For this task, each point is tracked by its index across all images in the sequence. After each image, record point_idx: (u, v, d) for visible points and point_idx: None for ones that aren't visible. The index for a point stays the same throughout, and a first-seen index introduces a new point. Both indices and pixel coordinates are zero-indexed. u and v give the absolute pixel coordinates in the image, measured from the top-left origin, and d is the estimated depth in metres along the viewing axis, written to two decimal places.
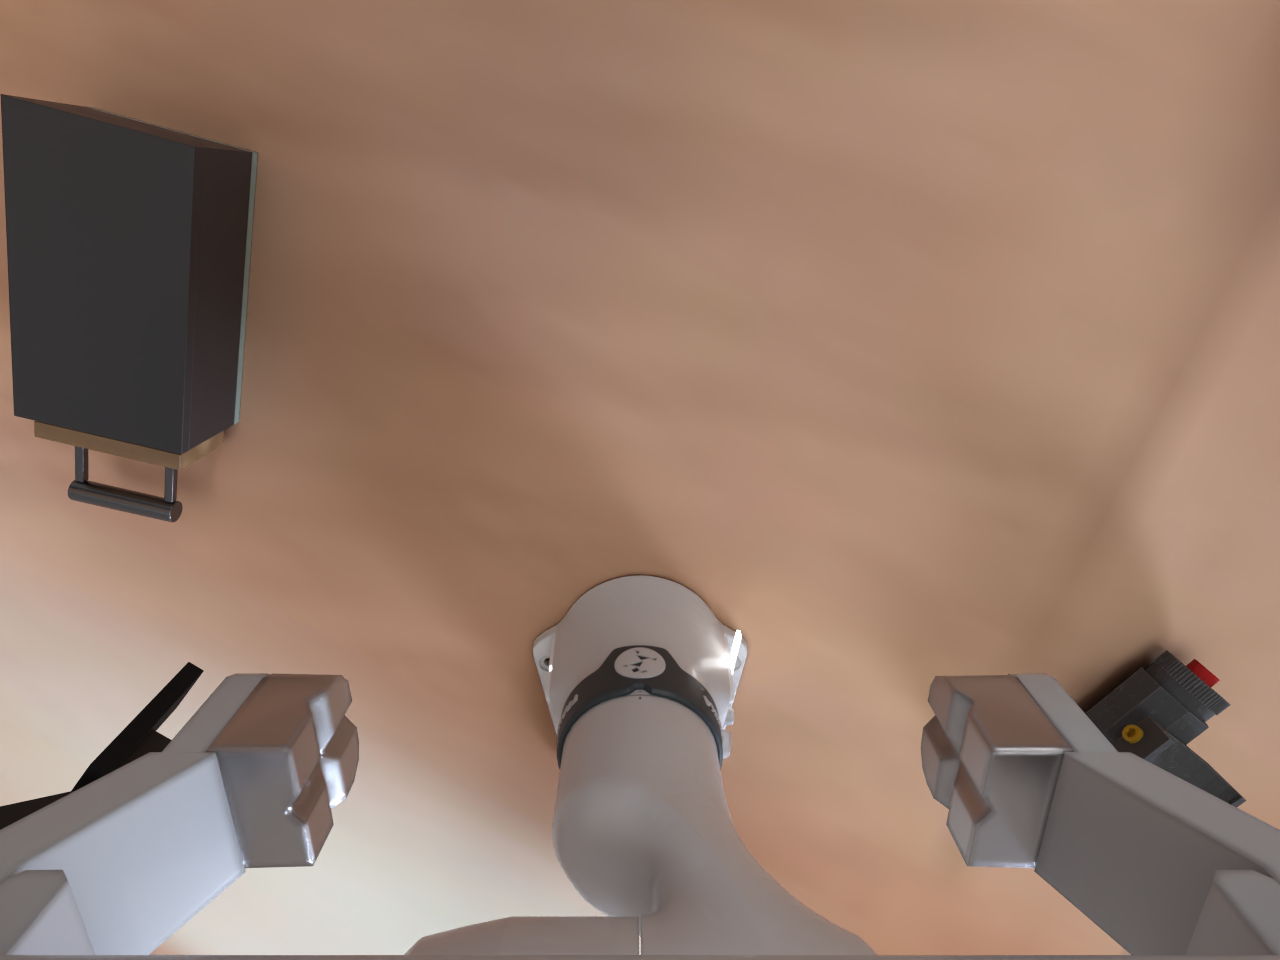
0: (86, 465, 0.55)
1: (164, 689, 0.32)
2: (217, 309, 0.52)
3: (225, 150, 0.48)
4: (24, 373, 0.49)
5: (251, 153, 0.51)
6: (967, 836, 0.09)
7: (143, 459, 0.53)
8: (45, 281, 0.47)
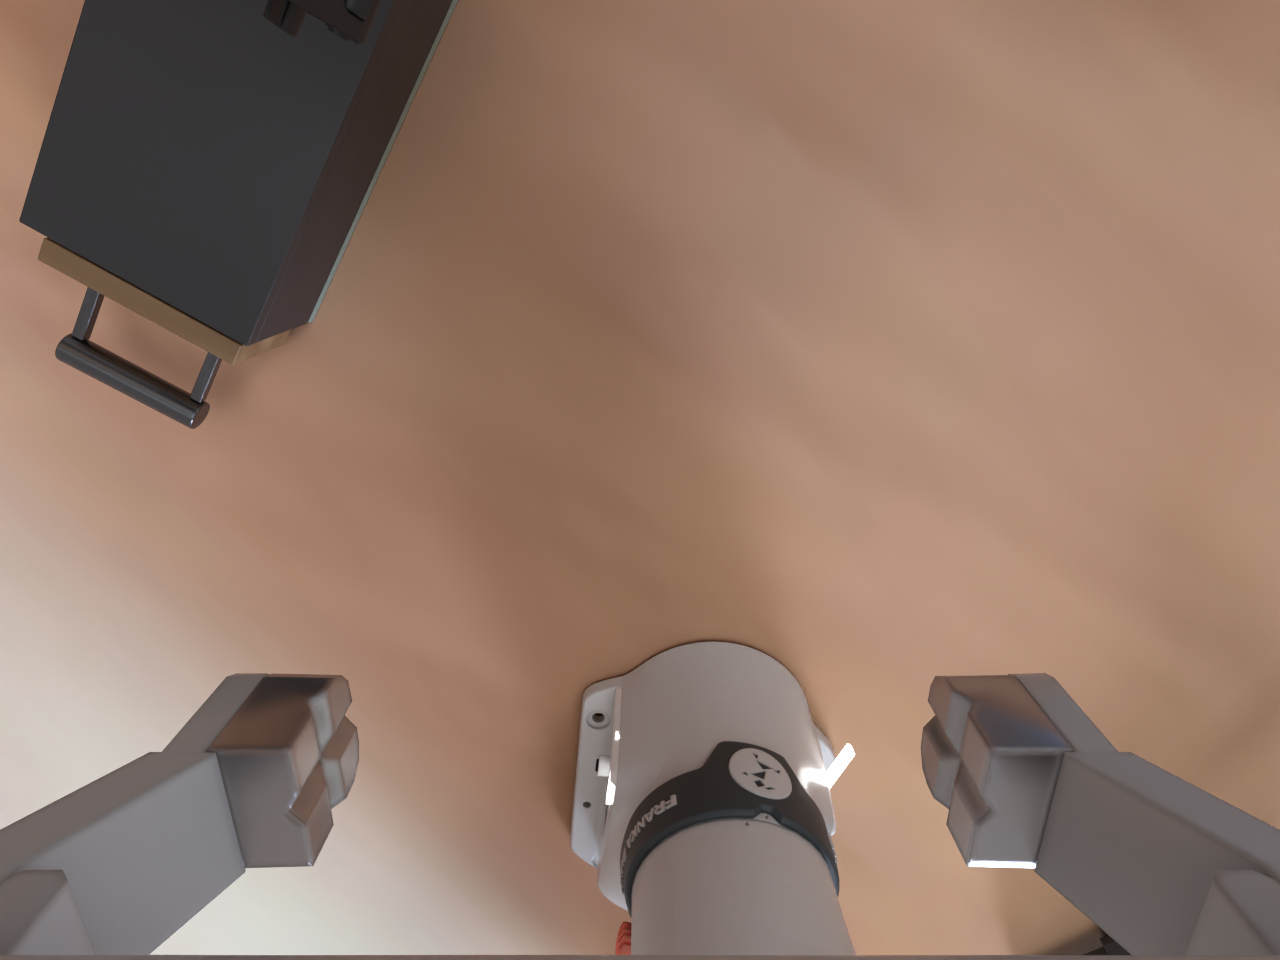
0: (94, 319, 0.39)
1: None
2: (354, 166, 0.37)
3: None
4: (55, 166, 0.34)
5: None
6: (967, 836, 0.09)
7: (186, 336, 0.37)
8: (133, 45, 0.32)
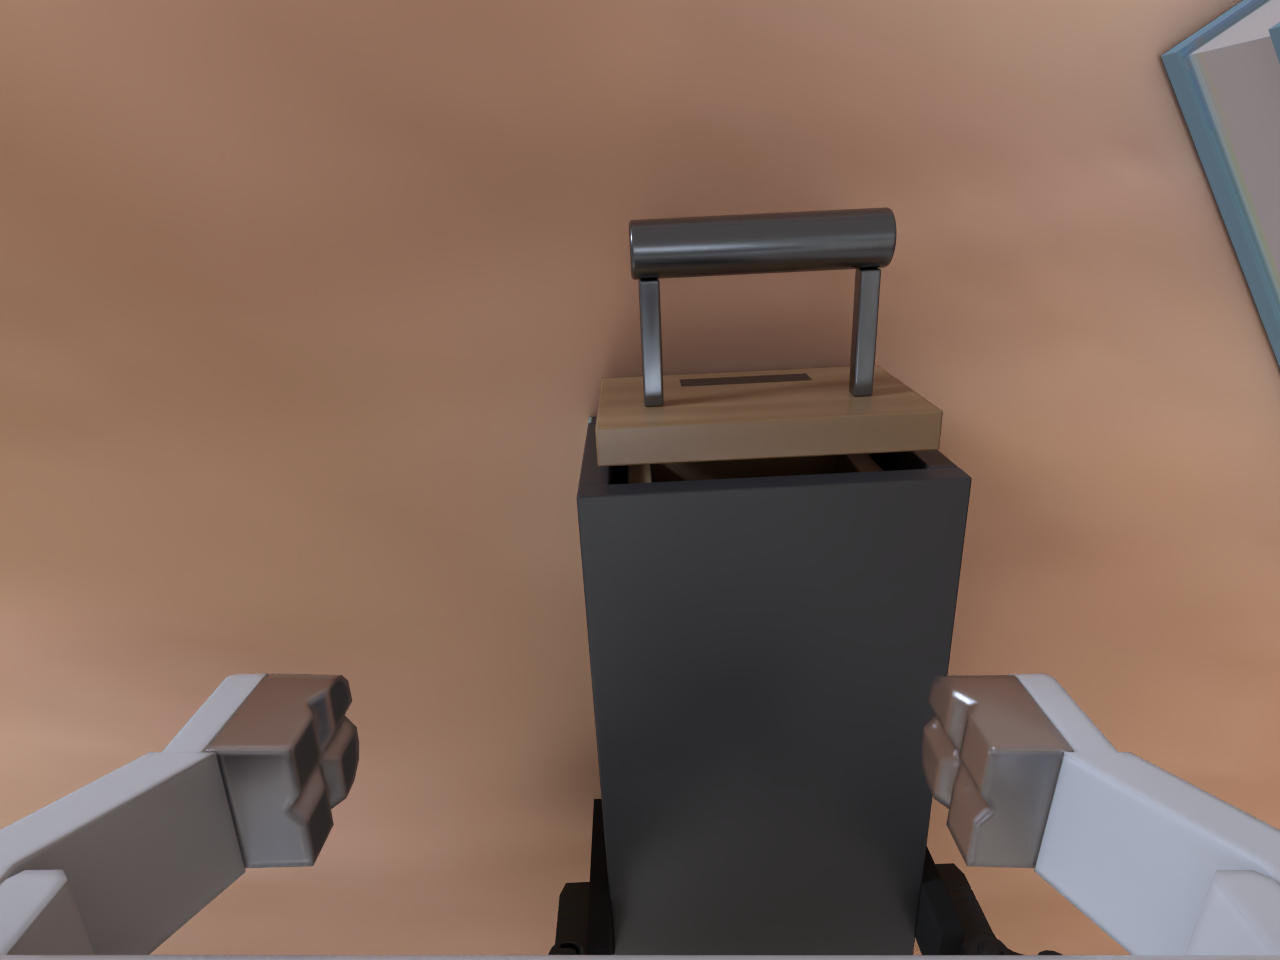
0: (854, 311, 0.22)
1: None
2: None
3: None
4: (932, 580, 0.22)
5: None
6: (967, 836, 0.09)
7: (683, 430, 0.21)
8: (868, 758, 0.24)
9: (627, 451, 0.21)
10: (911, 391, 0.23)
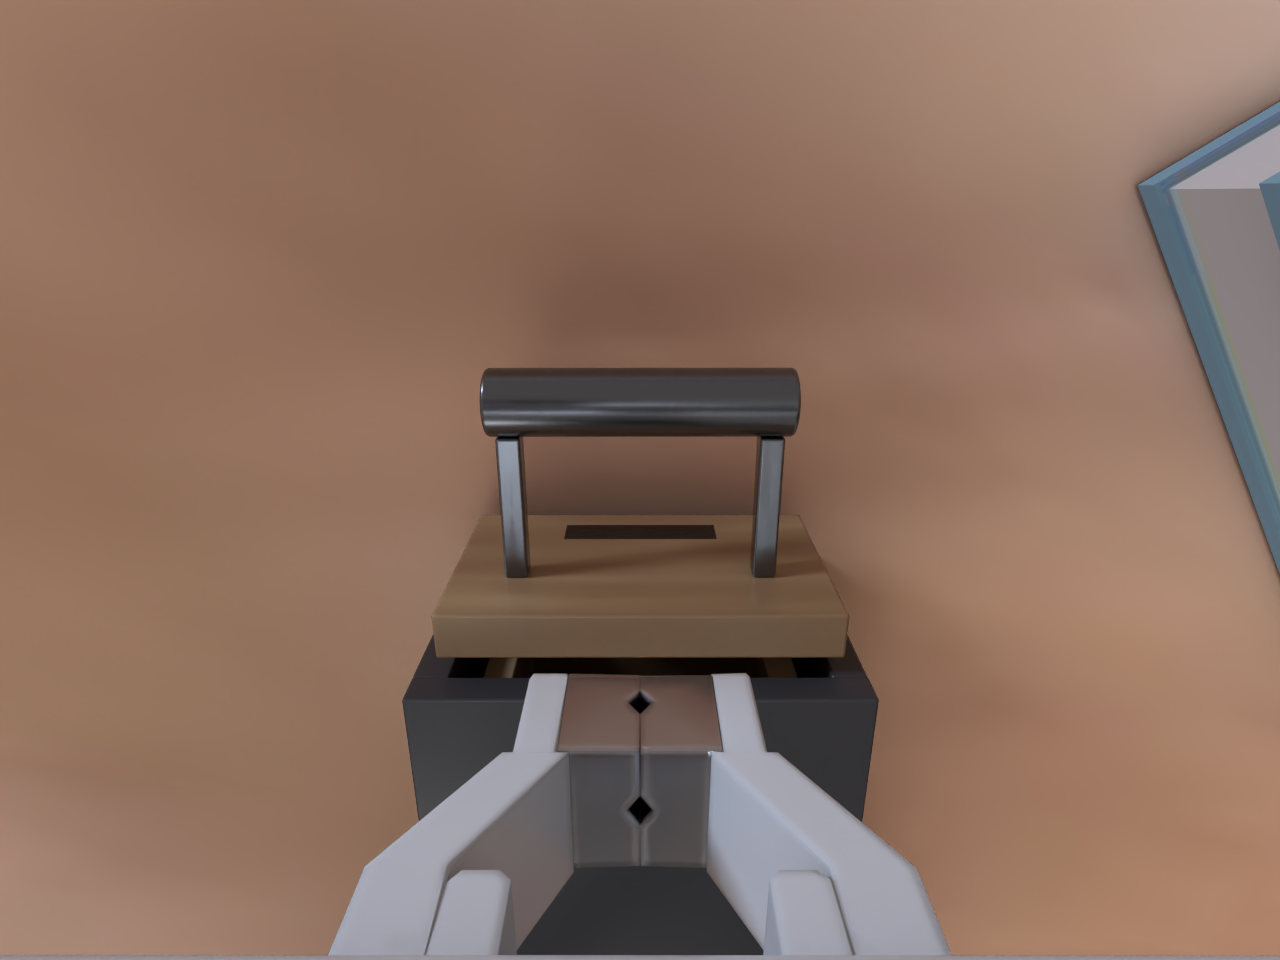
0: (755, 481, 0.19)
1: None
2: None
3: None
4: None
5: None
6: (640, 836, 0.09)
7: (536, 623, 0.18)
8: None
9: (470, 643, 0.18)
10: (823, 571, 0.20)
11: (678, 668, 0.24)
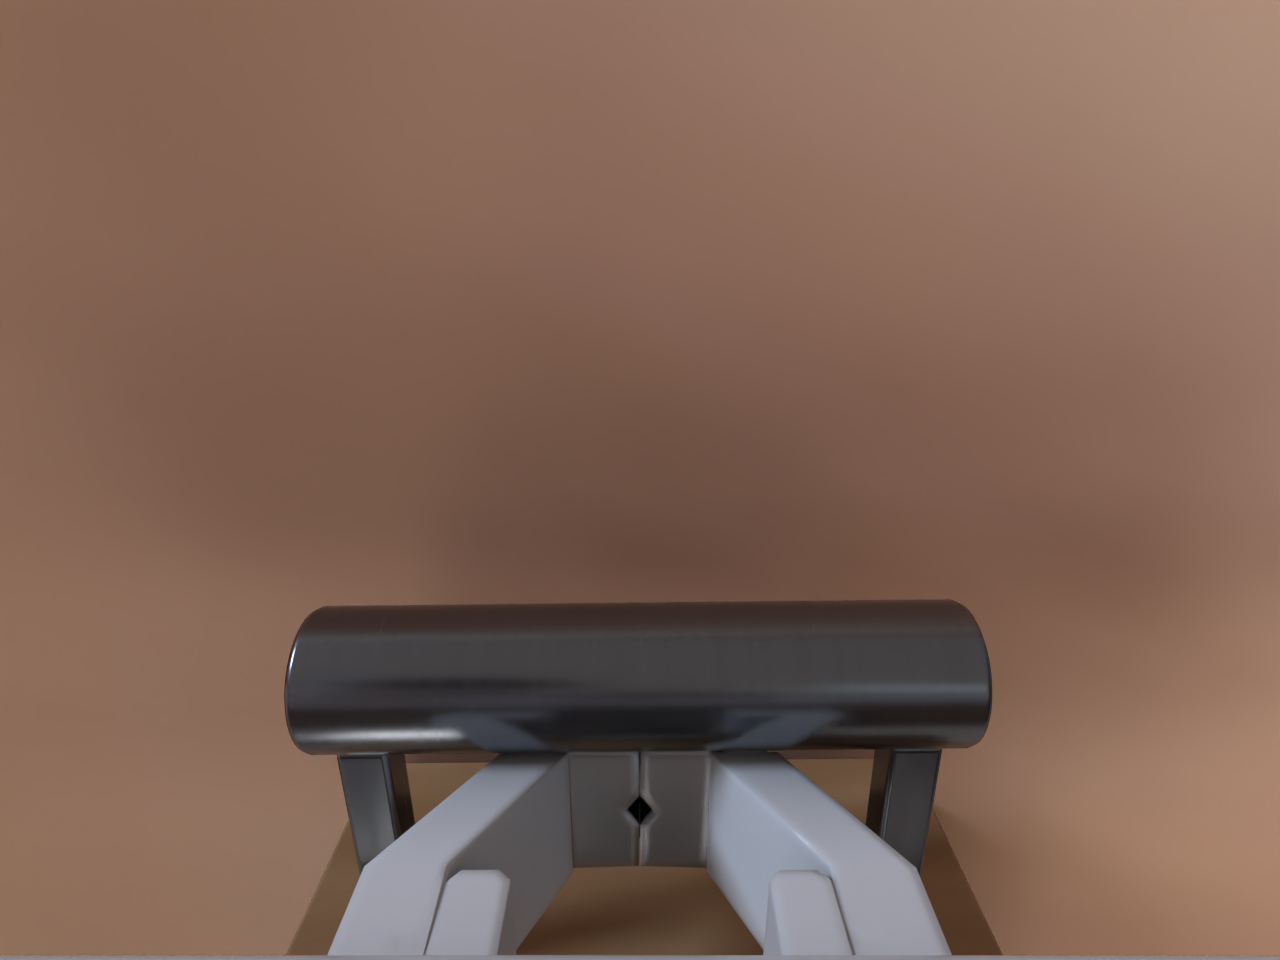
0: (872, 807, 0.09)
1: None
2: None
3: None
4: None
5: None
6: (640, 836, 0.09)
7: None
8: None
9: None
10: (992, 951, 0.10)
11: None
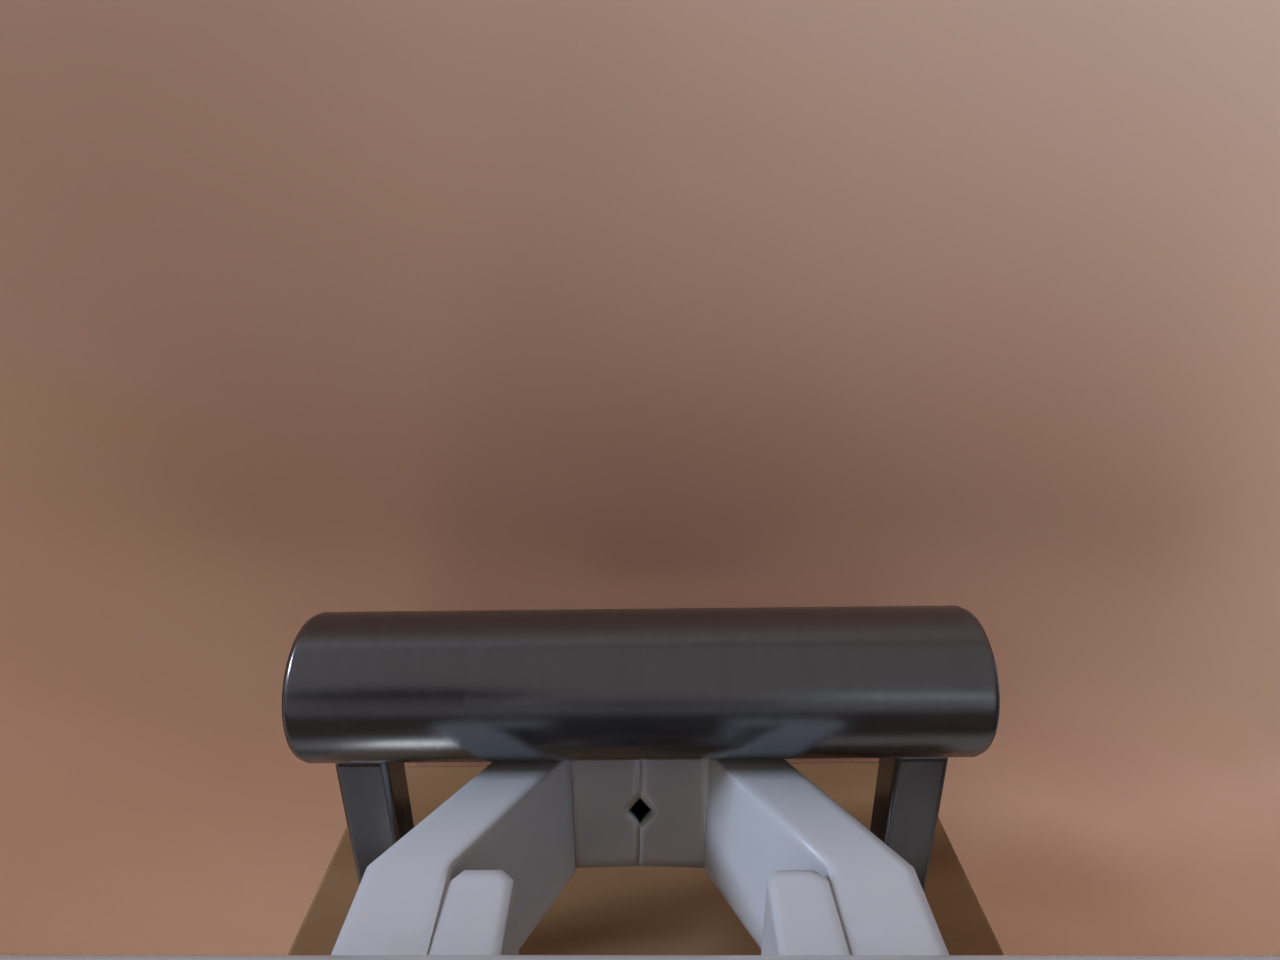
0: (876, 815, 0.09)
1: None
2: None
3: None
4: None
5: None
6: (638, 836, 0.09)
7: None
8: None
9: None
10: None
11: None
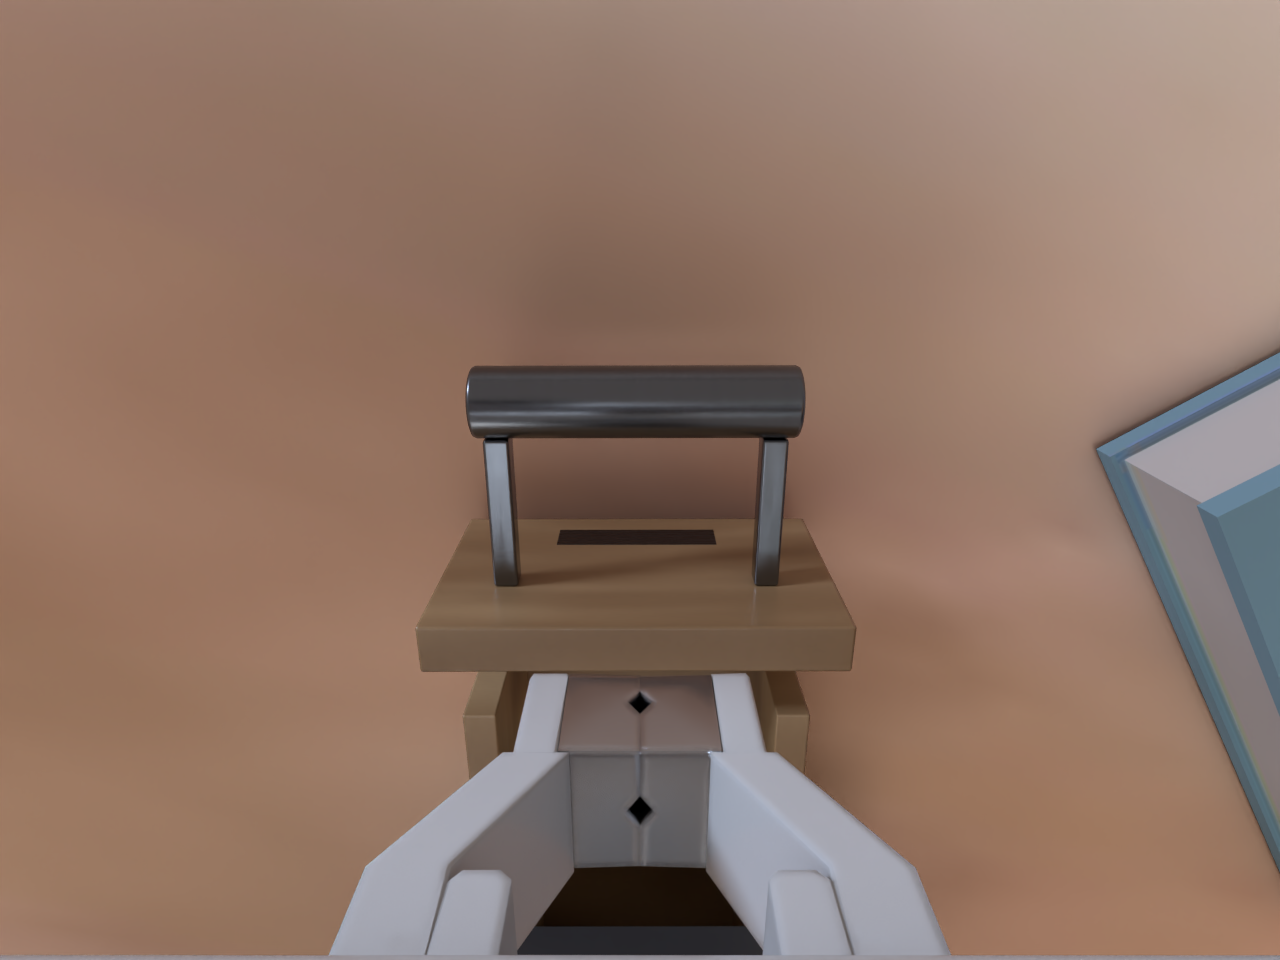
0: (757, 485, 0.18)
1: None
2: None
3: None
4: None
5: None
6: (639, 836, 0.09)
7: (526, 635, 0.17)
8: None
9: (457, 656, 0.17)
10: (828, 579, 0.19)
11: None
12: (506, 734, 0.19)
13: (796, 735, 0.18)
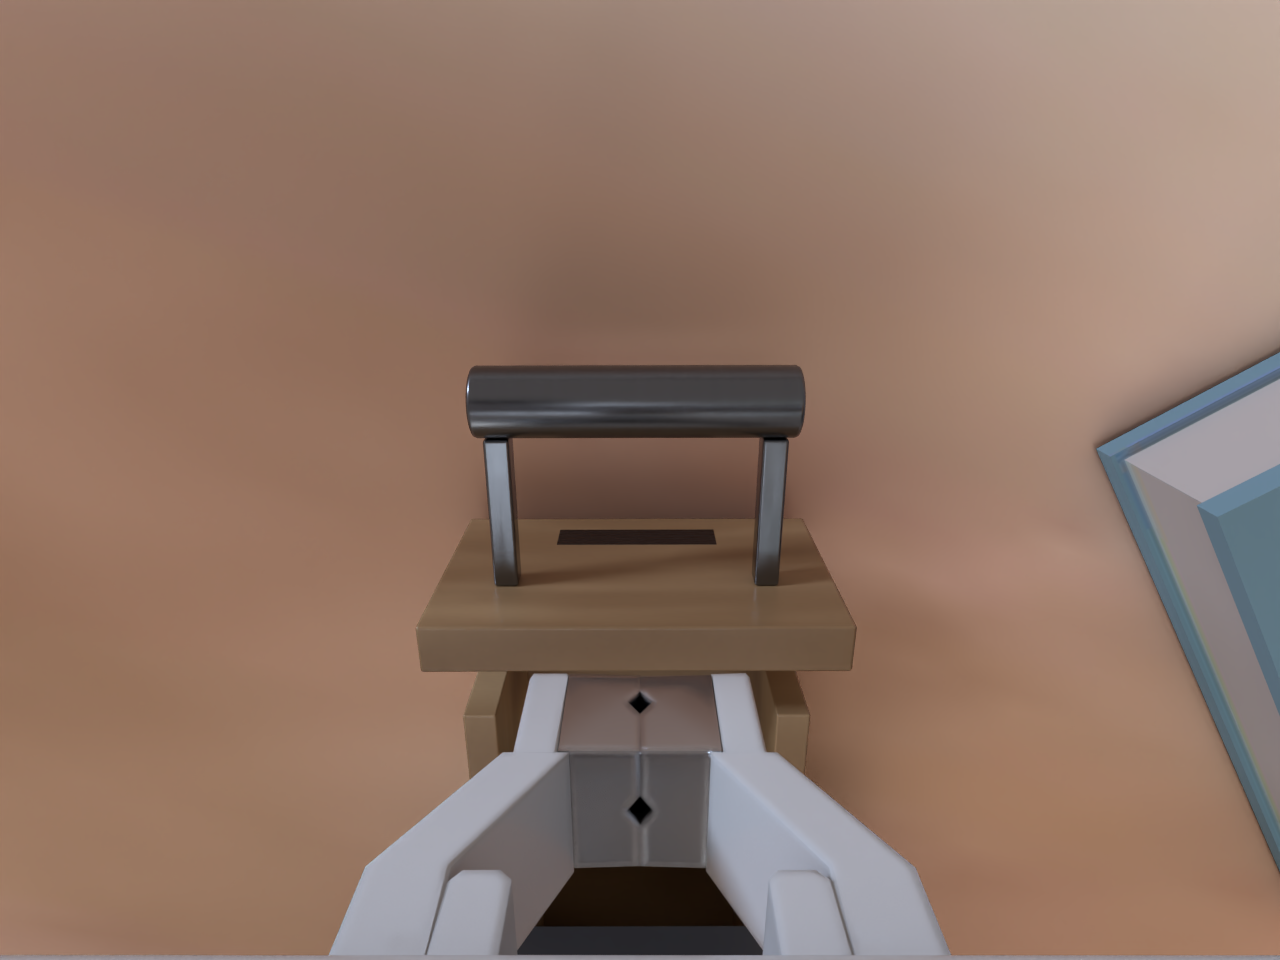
0: (757, 485, 0.18)
1: None
2: None
3: None
4: None
5: None
6: (639, 836, 0.09)
7: (526, 635, 0.17)
8: None
9: (457, 656, 0.17)
10: (828, 579, 0.19)
11: None
12: (506, 734, 0.19)
13: (796, 735, 0.18)
